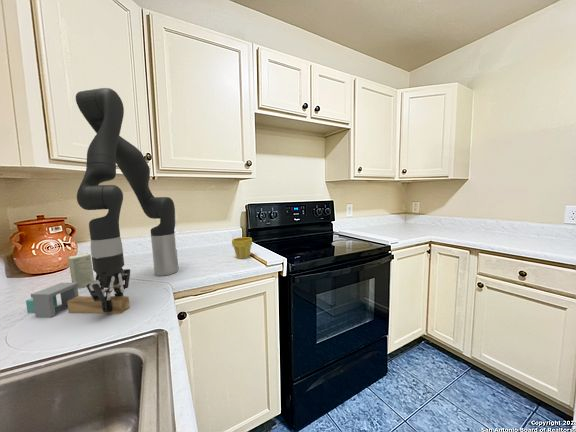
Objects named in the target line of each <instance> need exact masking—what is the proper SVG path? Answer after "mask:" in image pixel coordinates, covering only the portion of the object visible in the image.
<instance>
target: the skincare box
mask: <svg viewBox="0 0 576 432" xmlns="http://www.w3.org/2000/svg"><path fill="white" fill-rule="evenodd" d="M67 258H68V266H69V271H70V272H69V273H70V278H71V283H78V285H79V286H77V288H78V289H81V288H87V285H88V284H92V283H93V282H94V281H95V278H94V277H95V276H94V270H93V264H92V256H91V253H88V252H87V253H81V254H76V255H72V256H71V255H70V256H68V257H67Z"/></svg>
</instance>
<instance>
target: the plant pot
mask: <svg viewBox="0 0 576 432" xmlns="http://www.w3.org/2000/svg"><path fill="white" fill-rule="evenodd" d="M231 245H232V247H233V249H234V251H235V253H234V254H235V256H236V258H237V259H240V260H241V259H248V258H250V256H251V255H250V254H251V248H252V245H253V239H252V237H247V236H246V237H236V238H232V239H231Z"/></svg>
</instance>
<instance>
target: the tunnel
mask: <svg viewBox="0 0 576 432" xmlns="http://www.w3.org/2000/svg"><path fill="white" fill-rule="evenodd" d="M77 286H79V285H78V283H72V282H60V283H56V284H54V285H51V286H49V287H46V288H44V289H41V290H38V291H36V292H34V293H30V299H31V298H33V303H34V309H35V313H34V316H35V318H53V317H55V316H56V310H55V307H54V302H53V296H55V295H56V296H57V295H60V300H61V305H62V306H68V304H67V301H68V300H71V299H73V298H75V297H77V296H80V295H79V288H77Z"/></svg>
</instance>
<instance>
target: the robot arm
mask: <svg viewBox="0 0 576 432" xmlns="http://www.w3.org/2000/svg"><path fill="white" fill-rule="evenodd" d="M75 102H76V105H77V107H78V110H79V111H80V113H81V114H82V116H83V117H84V119H85V120H86V122H87V123H88V124H89V125H90V127H91V128H92V130H93V131H94V132H95V133H96V135H94V137H93V139H92V140H91V142H90V144H89V145H88V147H87V151H86V164H85V165H86V167H85V170H86V171H85V173H84V175H83V179H82V180H81V183H80V185H79V186H78V188H77V189H78V190H77V193H76V201H77V204H78V206H79V207H80V208H81V209H83V210H86V211H96V210H97V211H98V210H101V211H102V210H108V211H107V213H106V214H105V215H103V216H101V217H96V218H93V219H91V220H89V223H88V228H89V229H88V230H89V236H90V255H91V262H92V269H93V272H95V279H94V282H93V283H92V284H88V285H87V286H86V288H87V290H88V292H89V294H90V296H92V298H93V300H94V301H101V303H102V310H103V312H105V313H104V314H111V313H110V312H111V311H112V304H111V300H110V297H111V296H112V292H114V295H113V296H125V295H124V292H125V290H127V289H128V288H129V283H130V276H131V268H130V269H129V268H125V269H123V267H124V266H125V259H124V249H123V243H122V239H121V231H120V216H121V215H120V214H121V210H122V209H121V208H122V206H123V201H124V193H123V191H122V189H121V188H120V187H119V186H118V185H115V184H103V183H104V182H110V181H112V180H114V179H115V178H116V175H117V167H118V169H119V170H120V172H121V173H122V175H123V177H124V178H125V179H126V181H127V182H128V184H129V185H130V187H131V189H132V191H133V192H134V194H135V196H136V198H137V200H138V203H139V205H140V207H141V209H142V211H143V213H144V214H145V215H146V216H147V217H148V218H149V219H155V220H157V219H158V220H159V224H158V225H156V226H154V227H152V228H151V229H150V239H151V247H152V248H151V249H152V259H153V260H152V261H153V271H154V276H158V277H160V276H161V277H162V276H163V277H164V276H169V275H173V274H175V273H177V272H178V271H179V263H178V262H179V260H178V259H179V258H178V249H177V245H176V235H175V233H176V232H175V229H176V207H175V203H174V200H173V199H172V198H171V197H168V196H158V197H157V196H156V197H155V196H154V195H153V193H152V191H151V189H150V187H149V186H150V185H149V182H150V177H151V176H150V175H151V169H150V166H149V164H148V162H147V160H146V158H145V156H144V155H143V153H142V151H140V149H139V148H138V147H136V146H135V145H134V144H132V143H130V142H129V141H127V140H126V139H125V138H123V137H122V136H120V134H121V129H122V124H123V120H124V115H125V114H124V113H125V110H124V109H125V107H124V102H123V100H122V98H121V97H120V96H119V93H118V92H116V91H115V90H113V88H110V87H100V88H94V89H88V90H87V89H86V90H82V91H78V92H77V93H76V94H75Z"/></svg>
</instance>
